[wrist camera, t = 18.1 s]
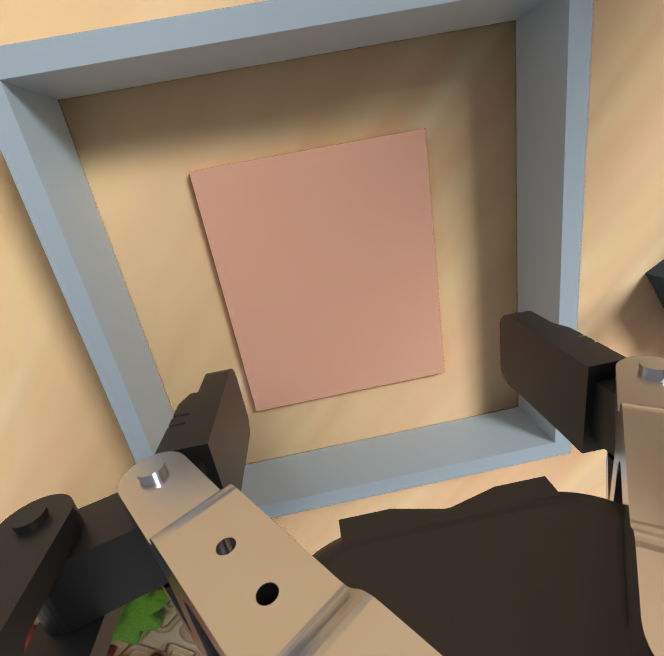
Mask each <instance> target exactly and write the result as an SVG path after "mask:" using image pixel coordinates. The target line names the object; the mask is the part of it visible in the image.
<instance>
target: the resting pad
mask: <svg viewBox="0 0 664 656" xmlns="http://www.w3.org/2000/svg"><path fill="white" fill-rule="evenodd" d="M189 174H190V177H191V181H192V185H193V188H194V192H195V195H196V199H197V202H198V206H199V209H200V213H201V216H202V220H203V224H204V227H205V231H206V234H207V238H208V241H209V245H210V248H211V252H212V255H213V259H214V263H215V266H216V270H217V273H218V277H219V280H220V284H221V287H222V291H223V294H224V298H225V302H226V305H227V309H228V312H229V316H230V319H231V323H232V326H233V330H234V333H235V337H236V341H237V344H238V348H239V351H240V355H241V358H242V362H243V365H244V369H245V372H246V376H247V380H248V383H249V387H250V390H251V394H252V397H253V401H254V404H255V408H256V411H261V410H266V409H271V408H276V407H280V406H285V405H290V404H295V403H300V402H304V401H309V400H314V399H319V398H324V397H329V396H333V395H338V394H343V393H348V392H353V391H358V390H362V389H367V388H372V387H377V386H382V385H386V384H391V383H396V382H401V381H406V380H411V379H415V378H420V377H425V376H430V375H435V374H439V373H444V372H445V368H444V356H443V343H442V331H441V318H440V306H439V294H438V281H437V269H436V256H435V244H434V232H433V219H432V207H431V194H430V182H429V170H428V157H427V145H426V132H425V128H424V129H419V130H413V131H408V132H402V133H397V134H391V135H386V136H381V137H375V138H370V139H364V140H359V141H353V142H348V143H342V144H337V145H332V146H326V147H321V148H315V149H310V150H304V151H299V152H293V153H288V154H283V155H277V156H272V157H266V158H261V159H255V160H250V161H244V162H239V163H234V164H228V165H223V166H217V167H212V168H206V169H201V170H195V171H190V172H189Z"/></svg>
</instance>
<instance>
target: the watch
mask: <svg viewBox="0 0 664 656" xmlns="http://www.w3.org/2000/svg"><path fill="white" fill-rule="evenodd" d="M646 275H647V277H648V279H649V281H650V283H651V285H652V286H653V288H654V290H655V292H656V294H657V296H658V298H659V300H660V301H661V303H662V305H663V307H664V260H662V261H661V262H660V263H658V264H657V265H656V266H654V267H653V268H652V269H651V270H649V271H648V272H647V273H646Z"/></svg>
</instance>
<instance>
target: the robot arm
mask: <svg viewBox="0 0 664 656" xmlns="http://www.w3.org/2000/svg"><path fill="white" fill-rule="evenodd" d="M500 351H501V369H502V373H503V375H504V378H505V380H506V381H507V383H508V384H509V385H510V386H511V387H512V388H513V389H515V390H516V391H517V392H518V393H519V394H520V395H521V396H522V397H523V398H524V399H525V400H526V401H527V402H528V403H529V404H530V405H531V406H533V407H534V408H535V409H536V410H537V411H538V412H539V413H540V414H541V415H542V416H543V417H544V418H545V419H546V420H547V421H548V422H550V423H551V424H552V425H553V426H554V427H555V428H556V429H557V430H558V431H559V432H560V433H561V434H562V435H563V436H564V437H565V438H566V439H568V440H569V441H570V442H571V443H572V444H573V445H574V446H575V447H576V448H577V449H578V450H579V451H580V452H581V453H586V452H591V451H596V450H600V449H605V450H607V458H606V499H604V498H600V497H596V496H592V495H586V494H580V493H571V492H558V491H557V490H556V489H555V487H554V486H553V485H552V484H551V483H550V482H549V480H548V479H547V478H546V477H545V476H543V477H538V478H534V479H529V480H524V481H519V482H515V483H510V484H505V485H501V486H496V487H493V488H491V489H489V490H487V491H485V492H483V493H481V494H478V495H476V496H474V497H472V498H470V499H468V500H466V501H464V502H462V503H460V504H457V505H455V506H453V507H451V508H447V509H388V510H383V511H378V512H374V513H369V514H364V515H360V516H355V517H350V518H345V519H341V520H339V525H340V532H341V538H339V539H337V540H335V541H333V542H331V543H330V544H328V545H326V546H325V547H323V548H321V549H320V550H319V551H317V552H316V553H315V554H314V555H311V554H310V553H309V552H308V551H306V550H305V549H304V548H303V547H302V546H301V545H300V544H299V543H298V542H296V541H295V540H294V539H293V538H292V537H291V536H290V535H289V534H287V533H286V532H285V531H284V530H283V529H282V528H281V527H280V526H279V525H277V524H276V523H275V522H274V521H273V520H272V519H271V518H270V517H269V516H267V515H266V514H265V513H264V512H263V511H262V510H261V509H260V508H259V507H257V506H256V505H255V504H254V503H253V502H252V501H251V500H250V499H248V498H247V497H246V496H245V495H244V494H243V493H242V492H241V489H242V483H243V476H244V469H245V463H246V456H247V450H248V443H249V436H250V427H249V420H248V415H247V412H246V408H245V405H244V401H243V398H242V395H241V391H240V388H239V384H238V381H237V377H236V375H235V372H234V371H233V369H229V370H224V371H218V372H213V373H208V374H206V375H205V377H204V380H203V382H202V384H201V387H200V389H199V392H197V393H192V394H190V395H189V396H188V397H186V398H185V399H184V400H183V401H182V402H181V403H180V404H179V405H178V407H177V409H176V411H175V413H174V415H173V418H172V419H171V421H170V424H169V428H167V430H166V432H165V434H164V436H163V438H162V440H161V442H160V444H159V446H158V448H157V450H156V452H155V455H152V456H149V457H147V458H145V459H143V460H141V461H140V462H138V463H136V464H135V465H134V466H132V467H131V468H130V469H129V470H128V471H127V472H126V473H125V474H124V475H123V476H122V478H121V479H120V481H119V483H118V486H117V493H115V494H113V495H111V496H109V497H106V498H104V499H102V500H99V501H97V502H94V503H92V504H90V505H87V506H85V507H82V508H80V509H77V507H76V505H75V503H74V501H73V499H72V498H71V497H70V496H69V495H66V494H55V495H50V496H46V497H43V498H40V499H38V500H36V501H33V502H31V503H29V504H27V505H26V506H24V507H22V508H21V509H19V510H17V511H16V512H14V513H13V514H12V515H10V516H9V517H8V518H7V519H5V520H4V521H3V522H2V523H1V524H0V656H106V655H107V652H108V649H109V646H110V643H111V640H112V637H113V634H114V631H115V628H116V625H117V622H118V619H119V616H120V613H121V610H122V606H123V605H125V604H127V603H129V602H131V601H133V600H135V599H137V598H139V597H141V596H143V595H145V594H147V593H149V592H151V591H153V590H155V589H157V588H159V587H161V586H162V587H163V589H164V591H165V593H166V595H167V596H168V598H169V600H170V601H171V603H172V605H173V607H174V608H175V610H176V612H177V613H178V615H179V617H180V619H181V620H182V622H183V624H184V625H185V627H186V629H187V631H188V632H189V634H190V636H191V637H192V639H193V641H194V643H195V644H196V646H197V648H198V649H199V651H200V653H201V655H202V656H664V358H663V357H656V356H633V357H627V358H626V357H624V356H622V355H620V354H619V353H617V352H615V351H613V350H611V349H609V348H607V347H606V346H604V345H602V344H600V343H598V342H594V340H593V339H591V338H589V337H587V336H583V334H581V333H579V332H578V331H576V330H574V329H572V328H570V327H567V326H563V325H559V324H555V323H552V322H550V321H549V320H547V319H545V318H543V317H541V316H540V315H538V314H536V313H534V312H532V311H524V312H519V313H514V314H509V315H504V316H503V317H502V318H501V321H500ZM36 618H38V620H39V621H40V622H39V624H38V626H37V628H36V630H35V632H34V634H33V635H32V637H31V639H30V641H29V643H28V645H27V647H26V649H25V643H26V640H27V636H28V634H29V631H30V629H31V627H32V625H33V623H34V621H35V620H36ZM24 650H25V651H24Z"/></svg>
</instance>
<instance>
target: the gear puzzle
mask: <svg viewBox="0 0 664 656" xmlns="http://www.w3.org/2000/svg"><path fill="white" fill-rule="evenodd" d="M39 622H40V621H39V620H38V618H36V620H35V621H34V623H33V625H32V627H31V629H30V631H29V634H28V636H27V640H26V643H25V649H26V647H27V645H28V643H29V641H30V639H31V637H32V635H33V634H34V632H35V630H36V628H37V626H38V624H39ZM24 651H25V650H24ZM106 656H202V655H201V653H200V651H199V649H198V648H197V646H196V644H195V643H194V641H193V639H192V637H191V636H190V634H189V632H188V631H187V629H186V627H185V625H184V624H183V622H182V620H181V619H180V617H179V615H178V613H177V612H176V610H175V608H174V607H173V605H172V603H171V601H170V600H169V598H168V596H167V595H166V593H165V591H164V589H163V587H162V586H161V587H159V588H157V589H155V590H153V591H151V592H149V593H147V594H145V595H143V596H141V597H139V598H137V599H135V600H133V601H131V602H129V603H127V604H125V605H123V606H122V610H121V613H120V616H119V619H118V622H117V625H116V628H115V631H114V634H113V637H112V640H111V643H110V646H109V649H108V652H107V655H106Z"/></svg>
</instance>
